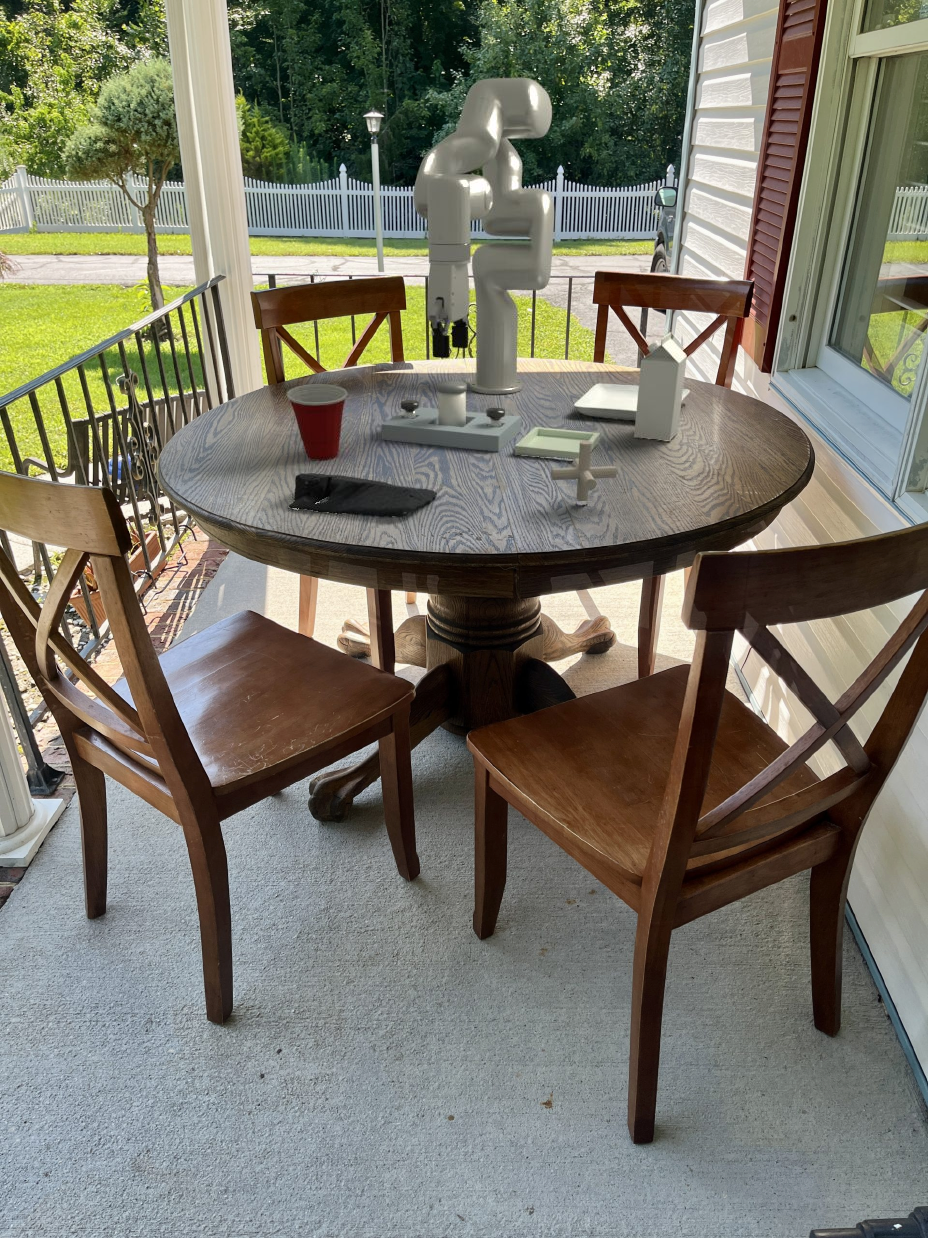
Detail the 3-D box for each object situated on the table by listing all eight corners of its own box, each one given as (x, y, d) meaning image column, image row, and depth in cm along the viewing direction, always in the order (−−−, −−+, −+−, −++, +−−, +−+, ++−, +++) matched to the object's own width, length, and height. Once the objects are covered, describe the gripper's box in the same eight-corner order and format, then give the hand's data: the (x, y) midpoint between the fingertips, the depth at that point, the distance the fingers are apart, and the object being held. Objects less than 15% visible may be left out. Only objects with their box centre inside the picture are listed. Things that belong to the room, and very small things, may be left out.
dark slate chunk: (405, 530, 126) (404, 500, 124) (279, 511, 133) (275, 483, 131) (444, 496, 139) (444, 468, 136) (327, 480, 146) (325, 454, 144)
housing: (411, 420, 177) (410, 406, 175) (520, 431, 169) (521, 416, 168) (382, 439, 165) (381, 424, 164) (498, 451, 158) (498, 436, 156)
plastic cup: (303, 468, 150) (296, 401, 144) (285, 452, 158) (278, 388, 153) (360, 459, 154) (356, 393, 149) (340, 443, 163) (335, 381, 157)
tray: (534, 435, 166) (535, 426, 166) (599, 442, 162) (600, 433, 162) (514, 455, 156) (514, 445, 155) (583, 462, 152) (584, 453, 151)
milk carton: (678, 432, 167) (689, 333, 158) (669, 442, 162) (681, 340, 153) (642, 428, 170) (652, 330, 161) (633, 438, 164) (642, 337, 155)
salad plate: (570, 420, 177) (571, 403, 176) (595, 396, 195) (596, 381, 193) (672, 430, 170) (674, 413, 169) (689, 404, 188) (690, 388, 186)
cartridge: (444, 430, 170) (443, 380, 166) (471, 432, 169) (470, 382, 164) (433, 438, 166) (431, 386, 161) (460, 440, 164) (460, 389, 159)
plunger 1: (406, 426, 172) (405, 399, 169) (422, 427, 171) (421, 400, 168) (398, 431, 169) (397, 403, 166) (415, 432, 168) (414, 405, 165)
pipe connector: (545, 493, 138) (547, 434, 133) (605, 491, 139) (610, 432, 134) (556, 516, 129) (559, 453, 124) (620, 514, 130) (625, 451, 125)
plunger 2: (489, 434, 166) (489, 406, 164) (507, 436, 165) (507, 408, 162) (483, 439, 163) (483, 411, 161) (501, 441, 162) (501, 413, 160)
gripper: (447, 249, 159) (449, 342, 168) (411, 258, 145) (414, 360, 153) (485, 250, 157) (484, 345, 165) (451, 259, 143) (452, 362, 151)
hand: (450, 352), depth 159 cm, fingers open, 9 cm apart
